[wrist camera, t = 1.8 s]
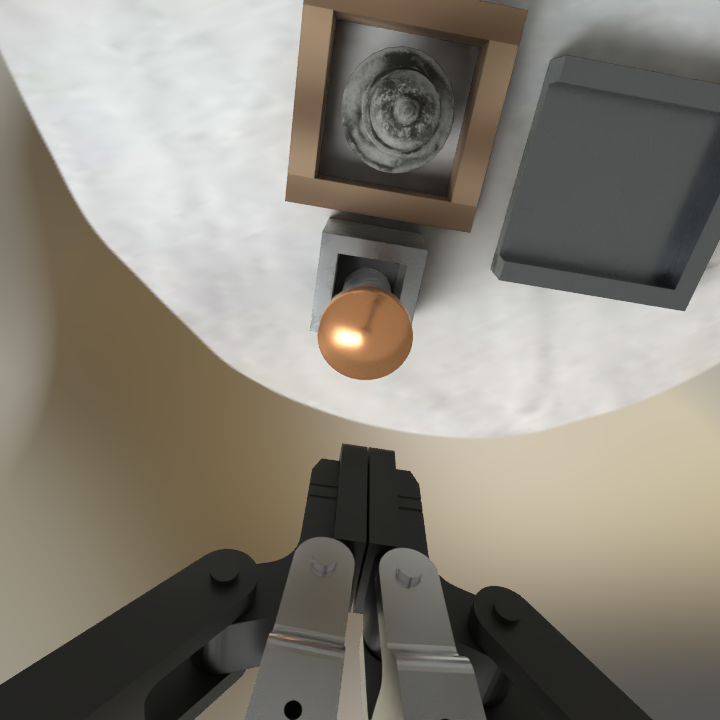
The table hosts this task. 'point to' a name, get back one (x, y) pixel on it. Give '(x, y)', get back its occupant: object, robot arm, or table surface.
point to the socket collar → (485, 102)
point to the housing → (374, 246)
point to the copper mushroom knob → (365, 328)
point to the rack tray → (616, 186)
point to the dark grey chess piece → (397, 109)
